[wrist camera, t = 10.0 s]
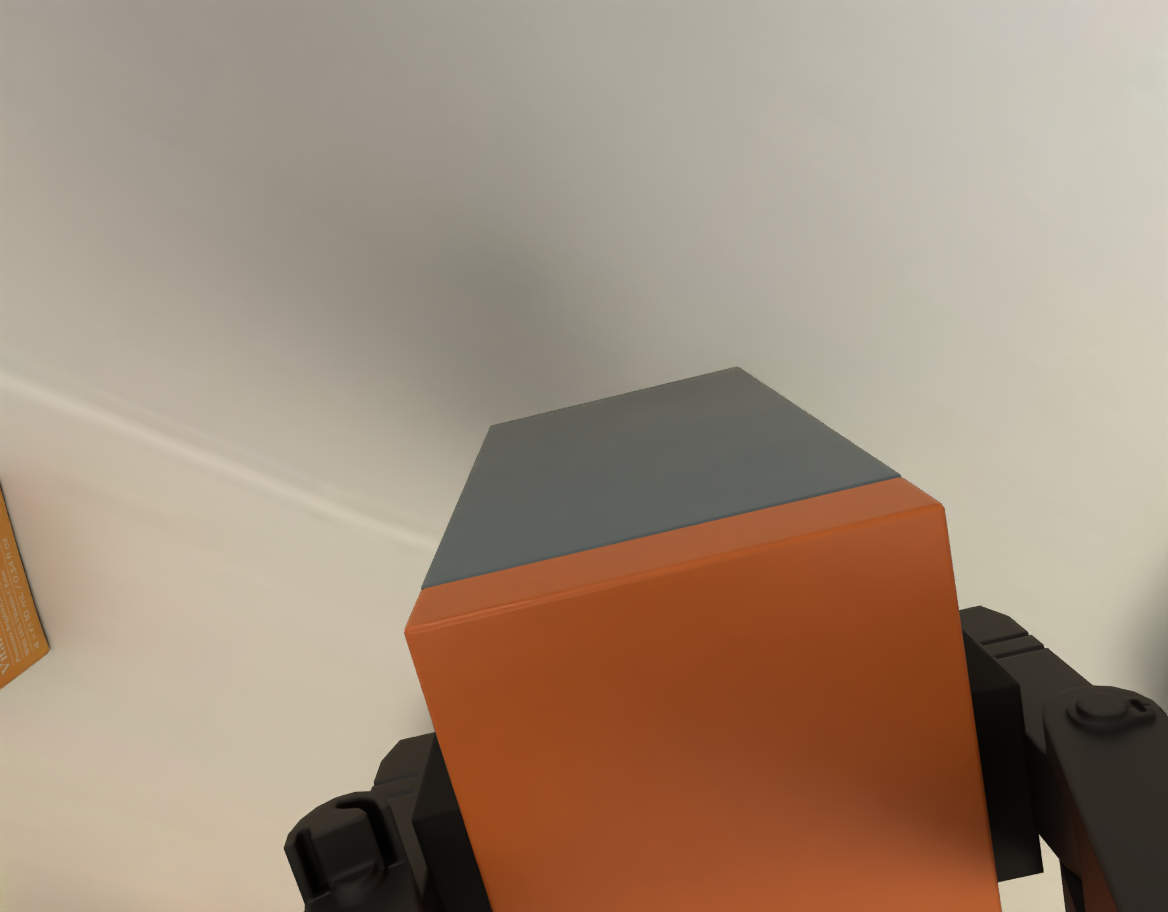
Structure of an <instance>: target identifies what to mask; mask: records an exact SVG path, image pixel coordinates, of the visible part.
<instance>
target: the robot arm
mask: <svg viewBox="0 0 1168 912" xmlns="http://www.w3.org/2000/svg"><path fill="white" fill-rule="evenodd" d="M959 614H960V621H961V628H962V635H963V642H964V649H965V656H966V663H967V670H968V677H969V684H970V691H971V698H972V705H973V712H974V719H975V726H976V733H977V740H978V747H979V754H980V761H981V768H982V776H983V783H984V790H985V797H986V804H987V811H988V818H989V825H990V832H991V839H992V846H993V853H994V860H995V867H996V874H997V881H998V882H1002V881H1006V880H1011V879H1015V878H1020V877H1025V876H1029V875H1034V874H1039V873H1043V864H1042V856H1041V848H1040V840H1039V835H1040V836H1041V837H1042V838H1043V840H1044V841H1045V842H1046V843H1047V845H1048V846H1049V847H1050V848H1051V849H1052V851H1053V852H1054V853H1055V854H1056V856H1057V857H1058V858H1059V860H1060V869H1061V877H1062V885H1063V894H1064V902H1065V910H1066V912H1168V716H1167V714H1166V713H1165V712H1164V711H1163V710H1162V709H1161V708H1160V707H1159V706H1158V705H1157V704H1156V703H1155V702H1154V701H1153V700H1151V699H1149V698H1147V697H1144V696H1142V695H1140V694H1138V693H1136V692H1134V691H1129V690H1125V689H1121V688H1116V687H1112V686H1093V685H1092V684H1091V683H1089V682H1088V681H1087V680H1086V679H1084V678H1083V677H1082V676H1081V675H1080V674H1078V673H1077V672H1076V671H1075V670H1074V669H1072V668H1071V667H1070V666H1069V665H1067V664H1066V663H1065V662H1064V661H1063V660H1061V659H1060V658H1059V657H1058V656H1057V655H1055V654H1054V653H1053V652H1052V651H1050V650H1049V649H1048V648H1044V645H1043V644H1042V643H1041V642H1040V641H1038V640H1037V639H1036V638H1035V637H1033V636H1032V635H1029V634H1028V632H1027V631H1026V630H1025V629H1024V628H1023V627H1021V626H1020V625H1019V624H1018V623H1016V622H1015V621H1014V620H1013V619H1012V618H1010V617H1009V616H1007V615H1004V614H1001V613H999V612H996V611H993V610H990V609H988V608H985V607H982V606H976V607H971V608H967V609H963V610H959ZM284 851H285V853H286V856H287V858H288V861H289V864H290V866H291V869H292V872H293V874H294V877H295V879H296V882H297V885H298V887H299V890H300V893H301V895H302V898H303V900H304V903H305V911H304V912H492V909H491V906H490V902H489V899H488V896H487V893H486V890H485V887H484V884H483V880H482V877H481V874H480V871H479V868H478V865H477V861H476V858H475V855H474V852H473V849H472V846H471V843H470V839H469V836H468V833H467V830H466V827H465V824H464V820H463V817H462V814H461V811H460V808H459V805H458V802H457V798H456V795H455V792H454V789H453V786H452V783H451V780H450V776H449V773H448V770H447V767H446V764H445V761H444V757H443V754H442V751H441V748H440V745H439V742H438V739H437V735H436V732H433V733H429V734H424V735H420V736H416V737H411V738H407V739H403V740H400V741H399V742H398V743H397V744H396V745H395V746H394V748H393V749H392V750H391V751H390V752H389V753H388V754H387V755H386V757H385V758H384V759H383V760H382V761H381V764H380V767H379V769H378V772H377V775H376V778H375V780H374V786H373V787H372V789H371V791H365V792H353V793H350V794H346V795H343V796H339V797H336V798H334V799H332V800H330V801H328V802H326V803H324V804H322V805H320V806H318V807H316V808H315V809H314V810H312V811H311V812H310V813H309V814H307V815H306V816H305V817H303V818H302V819H301V820H300V821H299V822H298V823H297V824H296V826H295V827H294V828H293V829H292V830H291V832H290V833H289V834H288V837H287V840H286V843H285V846H284Z"/></svg>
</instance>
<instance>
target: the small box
mask: <svg viewBox="0 0 1168 912" xmlns="http://www.w3.org/2000/svg"><path fill="white" fill-rule="evenodd" d="M48 652H49V647H48V644H47V641H46V639H45V636H44V634H43V631H42V628H41V625H40V622H39V619H38V616H37V612H36V609H35V606H34V603H33V600H32V596H31V593H30V589H29V586H28V583H27V579H26V576H25V573H24V570H23V566H22V563H21V560H20V556H19V553H18V549H17V546H16V542H15V538H14V535H13V531H12V528H11V524H10V521H9V517H8V514H7V510H6V507H5V503H4V499H3V496H2V492H1V489H0V690H1V689H2V688H3V687H5V686H6V685H7V684H8V683H10V682H11V681H12V680H14V679H15V678H16V677H18V676H19V675H20V674H22V673H23V672H24V671H26V670H27V669H28V668H29V667H31V666H32V665H33V664H35V663H36V662H37V661H39V660H40V659H41V658H43V657H44V656H45V655H46V654H47V653H48Z"/></svg>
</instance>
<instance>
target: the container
mask: <svg viewBox="0 0 1168 912" xmlns="http://www.w3.org/2000/svg"><path fill="white" fill-rule="evenodd" d="M421 590H422V591H421V592H420V594H419V596H418V599H417V601H416V603H415V606H414V608H413V610H412V613H411V615H410V617H409V620H408V622H407V625H406V627H405V632H404V634H405V638H406V641H407V644H408V647H409V650H410V653H411V657H412V660H413V663H414V666H415V669H416V672H417V675H418V679H419V682H420V685H421V688H422V691H423V694H424V698H425V701H426V704H427V707H428V710H429V713H430V716H431V720H432V723H433V726H434V729H435V732H436V735H437V739H438V742H439V745H440V748H441V751H442V754H443V757H444V761H445V764H446V767H447V770H448V773H449V776H450V780H451V783H452V786H453V789H454V792H455V795H456V798H457V802H458V805H459V808H460V811H461V814H462V817H463V820H464V824H465V827H466V830H467V833H468V836H469V839H470V843H471V846H472V849H473V852H474V855H475V858H476V861H477V865H478V868H479V871H480V874H481V877H482V880H483V884H484V887H485V890H486V893H487V896H488V899H489V902H490V906H491V909H492V912H1002V909H1001V902H1000V895H999V888H998V881H997V874H996V867H995V860H994V853H993V846H992V839H991V832H990V825H989V818H988V811H987V804H986V797H985V790H984V783H983V776H982V768H981V761H980V754H979V747H978V740H977V733H976V726H975V719H974V712H973V705H972V698H971V691H970V684H969V677H968V670H967V663H966V656H965V649H964V642H963V635H962V628H961V621H960V614H959V607H958V600H957V593H956V586H955V579H954V572H953V565H952V558H951V551H950V544H949V537H948V529H947V522H946V515H945V508H944V507H943V505H942V504H941V503H940V502H938V501H937V500H935V499H934V498H932V497H931V496H929V495H928V494H927V493H925V492H924V491H922V490H921V489H919V488H918V487H916V486H915V485H913V484H912V483H910V482H909V481H907V480H906V479H904V478H902V477H901V475H900V474H899V473H897V472H896V471H894V470H893V469H891V468H890V467H888V466H887V465H885V464H884V463H882V462H881V461H879V460H878V459H876V458H875V457H873V456H872V455H870V454H869V453H867V452H866V451H864V450H863V449H861V448H860V447H858V446H857V445H855V444H854V443H852V442H851V441H849V440H848V439H846V438H845V437H843V436H842V435H840V434H839V433H837V432H836V431H834V430H833V429H831V428H830V427H828V426H827V425H825V424H824V423H822V422H821V421H819V420H818V419H816V418H815V417H813V416H812V415H810V414H809V413H807V412H806V411H804V410H803V409H801V408H800V407H798V406H797V405H795V404H794V403H792V402H791V401H789V400H788V399H786V398H785V397H783V396H782V395H780V394H779V393H777V392H776V391H774V390H772V389H771V388H769V387H768V386H766V385H765V384H763V383H762V382H760V381H759V380H757V379H756V378H754V377H753V376H751V375H750V374H748V373H747V372H745V371H744V370H742V369H741V368H739V367H733V368H729V369H725V370H721V371H716V372H712V373H708V374H704V375H700V376H696V377H692V378H687V379H683V380H679V381H675V382H671V383H667V384H662V385H658V386H654V387H650V388H646V389H642V390H637V391H633V392H629V393H625V394H621V395H617V396H612V397H608V398H604V399H600V400H596V401H592V402H588V403H583V404H579V405H575V406H571V407H567V408H563V409H558V410H554V411H550V412H546V413H542V414H538V415H533V416H529V417H525V418H521V419H517V420H513V421H508V422H504V423H500V424H496V425H492V426H490V428H489V430H488V433H487V435H486V437H485V440H484V442H483V444H482V447H481V449H480V451H479V454H478V456H477V458H476V461H475V463H474V465H473V468H472V470H471V472H470V475H469V477H468V479H467V482H466V484H465V486H464V489H463V491H462V493H461V496H460V498H459V500H458V503H457V505H456V507H455V510H454V512H453V514H452V517H451V519H450V521H449V524H448V526H447V528H446V531H445V533H444V535H443V538H442V540H441V542H440V545H439V547H438V549H437V552H436V554H435V556H434V559H433V561H432V563H431V566H430V568H429V570H428V573H427V575H426V577H425V580H424V582H423V584H422V587H421Z"/></svg>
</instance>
